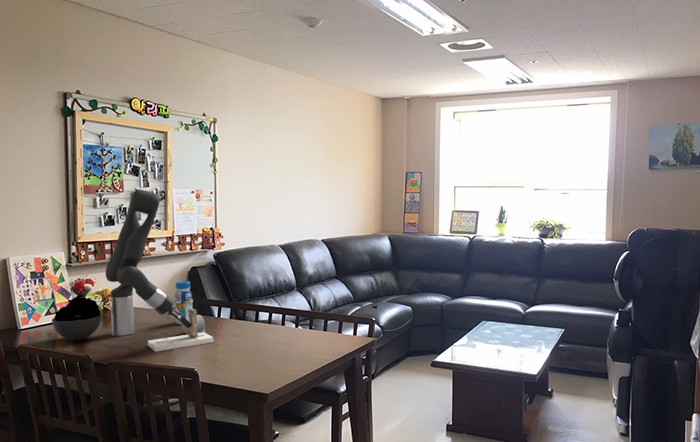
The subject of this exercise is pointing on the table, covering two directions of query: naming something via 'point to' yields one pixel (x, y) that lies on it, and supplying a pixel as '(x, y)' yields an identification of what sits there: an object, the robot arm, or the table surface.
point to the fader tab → (193, 322)
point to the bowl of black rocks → (77, 318)
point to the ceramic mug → (199, 325)
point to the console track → (179, 342)
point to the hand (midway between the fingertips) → (189, 326)
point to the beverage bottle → (183, 298)
